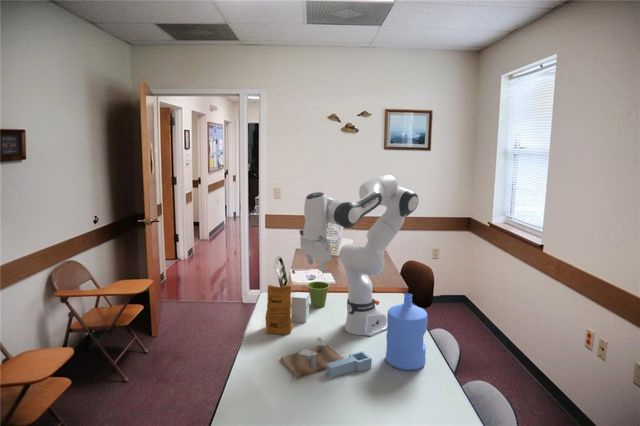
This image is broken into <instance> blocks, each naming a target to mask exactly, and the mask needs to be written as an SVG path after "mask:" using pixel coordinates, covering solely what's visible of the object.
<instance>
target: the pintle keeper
mask: <svg viewBox="0 0 640 426" xmlns="http://www.w3.org/2000/svg"><path fill="white" fill-rule="evenodd" d="M322 346H323V338H321V337H318V338H317V339H316V348H317V352H318V353H321V352H322ZM299 352H300V353H299V357H303V358H307V359H310V358H311V369H317V352H314V351H311V350H309V349H305V348H303V349H302V350H301V351H299Z"/></svg>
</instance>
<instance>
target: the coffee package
mask: <svg viewBox="0 0 640 426" xmlns="http://www.w3.org/2000/svg"><path fill="white" fill-rule="evenodd" d="M291 295H292V285H291V284H290V285H289V284H288V285H283V286H276V285H269V284H268V285H267V303H266V313H265V333H266V334H267V335H271V334H275V335H279V336H280V335H289V334H291V333H292V331H293V322H292V309H291V297H292V296H291Z"/></svg>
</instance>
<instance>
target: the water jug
mask: <svg viewBox="0 0 640 426" xmlns="http://www.w3.org/2000/svg"><path fill="white" fill-rule="evenodd" d="M403 297H404V298H403V303H400V304H396V305H393V306H391V307H390V308H388V310H387V315H386V319H387V330H386V351H385V359H386V361H387V363H388V364H389V365H390V366H391V367H393V368H395V369H398V370H402V371H415V370H418V369H421V368H423V367H424V365H425V364H426V359H427V358H426V351H427V347H426V344H425V342H424V337H425V336H424V335H425V333H426V332H427V330H428V313H427V311H426V310H425V309H424V308H422V307H419V306H417V305H415V304H413V294H412V293H404V295H403Z"/></svg>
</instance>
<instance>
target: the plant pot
mask: <svg viewBox="0 0 640 426" xmlns="http://www.w3.org/2000/svg"><path fill="white" fill-rule="evenodd" d="M306 287H307V288H308V291H309V300H310V304H311V306H312V307H313V308H318V309H319V308H323V307H325V306H326V301H327V295H328V292H329V289H330V284H329V283H328V282H325V281H311V282H308V283H307V284H306Z"/></svg>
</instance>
